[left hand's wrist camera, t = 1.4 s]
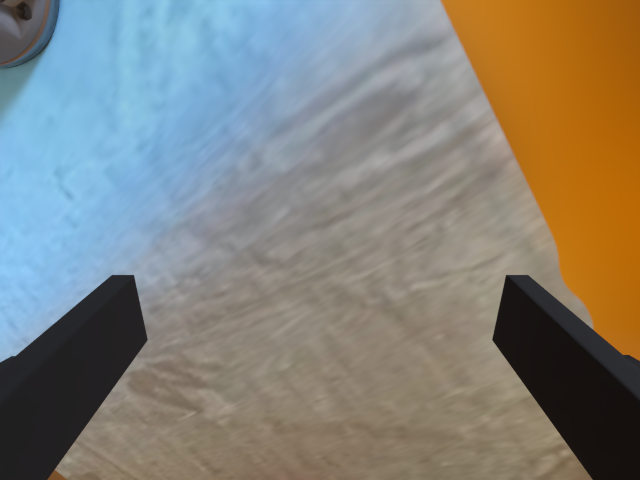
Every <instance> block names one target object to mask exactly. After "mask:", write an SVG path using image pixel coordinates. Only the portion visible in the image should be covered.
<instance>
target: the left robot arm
mask: <svg viewBox="0 0 640 480" xmlns="http://www.w3.org/2000/svg"><path fill="white" fill-rule="evenodd" d="M58 11H59V0H0V68H8V67H13V66H17V65H20V64H22V63H24V62H26V61H28V60H30V59H31V58H33V57H34V56H36V55H37V54H38V53H39V52H40V51H41V50H42V49H43V48H44V46H45V45H46V44H47V42H48V41H49V39H50V37H51V35H52V33H53V30H54V28H55V25H56V21H57V17H58ZM147 340H148V339H147V335H146V330H145V325H144V321H143V316H142V311H141V307H140V302H139V297H138V293H137V288H136V283H135V278H134V275H112V276H110V277H109V278H108V279H107V280H106V281H105V282H103V283H102V284H101V285H100V286H99V287H97V288H96V289H95V290H94V291H93V292H91V293H90V294H89V295H88V296H87V297H85V298H84V299H83V300H82V301H81V302H80V303H78V304H77V305H76V306H75V307H74V308H72V309H71V310H70V311H69V312H68V313H66V314H65V315H64V316H63V317H62V318H61V319H59V320H58V321H57V322H56V323H55V324H53V325H52V326H51V327H50V328H49V329H47V330H46V331H45V332H44V333H43V334H42V335H40V336H39V337H38V338H37V339H36V340H34V341H33V342H32V343H31V344H30V345H28V346H27V347H26V348H25V349H24V350H22V351H21V352H20V353H19V354H18V355H17V356H11V357H10V358H8V359H6V360H4V361H2V362H1V363H0V480H47V479H48V478H49V476H50V475H51V474H52V472H53V471H54V469H55V468H56V467H57V465H58V464H59V462H60V461H61V460H62V458H63V457H64V456H65V454H66V453H67V451H68V450H69V449H70V447H71V446H72V444H73V443H74V442H75V440H76V439H77V437H78V436H79V435H80V433H81V432H82V431H83V429H84V428H85V426H86V425H87V424H88V422H89V421H90V419H91V418H92V417H93V415H94V414H95V412H96V411H97V410H98V408H99V407H100V405H101V404H102V403H103V401H104V400H105V399H106V397H107V396H108V394H109V393H110V392H111V390H112V389H113V387H114V386H115V385H116V383H117V382H118V380H119V379H120V378H121V376H122V375H123V373H124V372H125V371H126V369H127V368H128V367H129V365H130V364H131V362H132V361H133V360H134V358H135V357H136V355H137V354H138V353H139V351H140V350H141V348H142V347H143V346H144V344H145V343H146V342H147ZM492 340H493V342H494V343H495V344H496V346H497V347H498V348H499V350H500V351H501V353H502V354H503V355H504V357H505V358H506V360H507V361H508V362H509V364H510V365H511V367H512V368H513V369H514V371H515V372H516V373H517V375H518V376H519V378H520V379H521V380H522V382H523V383H524V385H525V386H526V387H527V389H528V390H529V392H530V393H531V394H532V396H533V397H534V399H535V400H536V401H537V403H538V404H539V405H540V407H541V408H542V410H543V411H544V412H545V414H546V415H547V417H548V418H549V419H550V421H551V422H552V424H553V425H554V426H555V428H556V429H557V431H558V432H559V433H560V435H561V436H562V437H563V439H564V440H565V442H566V443H567V444H568V446H569V447H570V449H571V450H572V451H573V453H574V454H575V456H576V457H577V458H578V460H579V461H580V462H581V464H582V465H583V467H584V468H585V469H586V471H587V472H588V474H589V475H590V476H591V478H592V479H593V480H640V361H639V360H637V359H635V358H633V357H631V356H630V355H622V354H621V353H620V352H619V351H618V350H616V349H615V348H614V347H613V346H612V345H610V344H609V343H608V342H607V341H606V340H604V339H603V338H602V337H601V336H600V335H598V334H597V333H596V332H595V331H594V330H593V329H591V328H590V327H589V326H588V325H587V324H585V323H584V322H583V321H582V320H581V319H579V318H578V317H577V316H576V315H575V314H574V313H572V312H571V311H570V310H569V309H568V308H566V307H565V306H564V305H563V304H562V303H560V302H559V301H558V300H557V299H556V298H555V297H553V296H552V295H551V294H550V293H549V292H547V291H546V290H545V289H544V288H543V287H541V286H540V285H539V284H538V283H537V282H535V281H534V280H533V279H532V278H531V277H530V276H528V275H506V278H505V283H504V288H503V293H502V297H501V302H500V307H499V311H498V316H497V321H496V325H495V330H494V335H493V339H492Z"/></svg>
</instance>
